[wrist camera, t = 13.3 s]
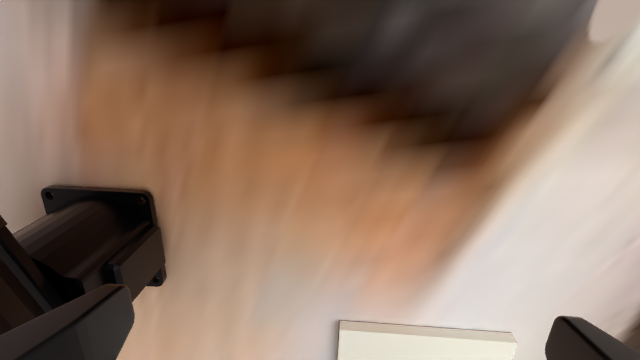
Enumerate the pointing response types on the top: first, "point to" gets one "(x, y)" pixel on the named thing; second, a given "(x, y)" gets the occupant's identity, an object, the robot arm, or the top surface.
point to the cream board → (421, 343)
